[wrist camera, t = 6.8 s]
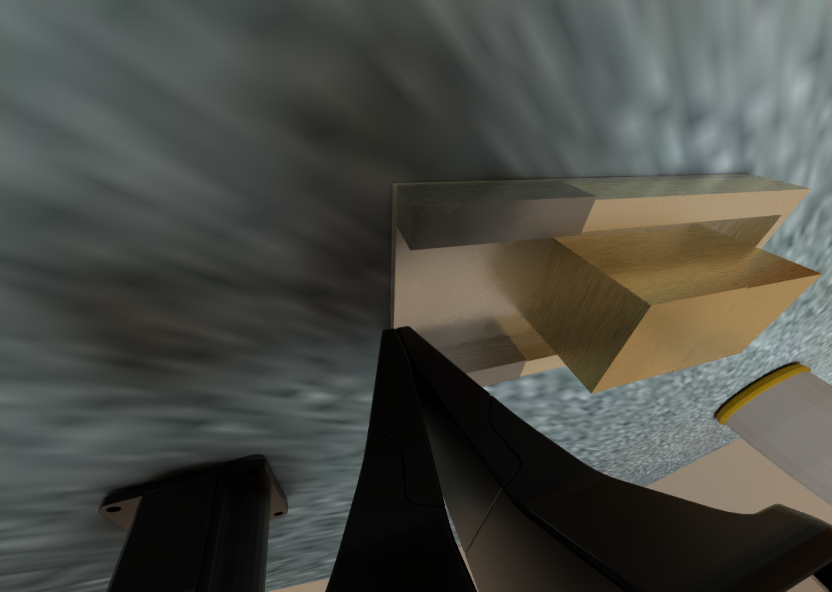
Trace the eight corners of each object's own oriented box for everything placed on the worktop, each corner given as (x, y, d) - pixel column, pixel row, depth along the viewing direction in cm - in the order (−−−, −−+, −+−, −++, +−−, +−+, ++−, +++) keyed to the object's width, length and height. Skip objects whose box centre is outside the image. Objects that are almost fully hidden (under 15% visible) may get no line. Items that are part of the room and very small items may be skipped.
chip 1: (596, 307, 15) (672, 370, 12) (526, 319, 14) (591, 393, 11) (637, 232, 12) (747, 287, 9) (556, 239, 11) (651, 305, 8)
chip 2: (656, 297, 16) (740, 352, 13) (595, 308, 15) (672, 371, 12) (704, 226, 13) (822, 273, 10) (636, 233, 12) (746, 288, 9)
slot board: (389, 365, 14) (401, 405, 12) (392, 179, 9) (413, 205, 7) (650, 314, 18) (684, 338, 16) (750, 171, 13) (813, 186, 11)
